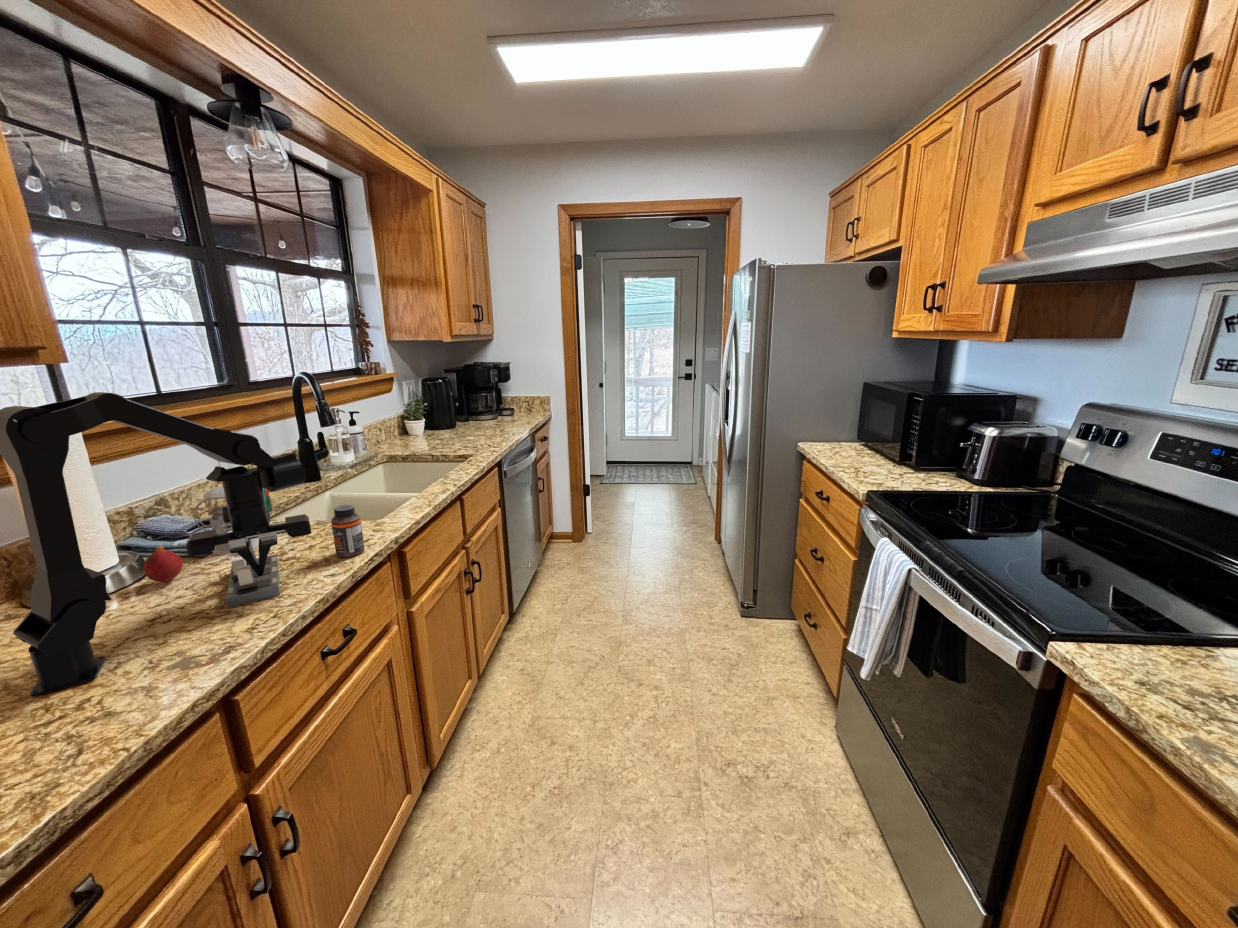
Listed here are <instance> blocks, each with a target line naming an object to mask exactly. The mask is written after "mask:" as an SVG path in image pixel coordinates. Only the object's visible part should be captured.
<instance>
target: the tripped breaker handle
mask: <svg viewBox="0 0 1238 928" xmlns="http://www.w3.org/2000/svg"><path fill="white" fill-rule="evenodd" d="M237 575H238V580H239V581H237V587H236V588H237V590H242V589H246V588H250V587H255V586H257V578H256V577H255V578H253V576H252V571H251V567H250V565H247V566H242V567H238V568H237Z"/></svg>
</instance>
